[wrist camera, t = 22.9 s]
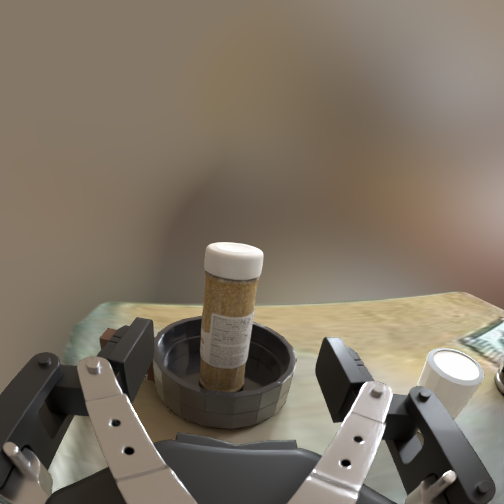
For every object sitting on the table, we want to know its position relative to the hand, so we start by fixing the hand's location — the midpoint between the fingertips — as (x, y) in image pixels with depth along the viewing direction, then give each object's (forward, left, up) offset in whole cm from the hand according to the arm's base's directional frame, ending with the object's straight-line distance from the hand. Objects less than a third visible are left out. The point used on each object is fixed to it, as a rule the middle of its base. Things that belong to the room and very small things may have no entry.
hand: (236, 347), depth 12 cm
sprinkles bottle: (+1, -10, -11) cm, 15 cm away
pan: (+1, -11, -12) cm, 16 cm away
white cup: (-20, -4, -12) cm, 24 cm away
